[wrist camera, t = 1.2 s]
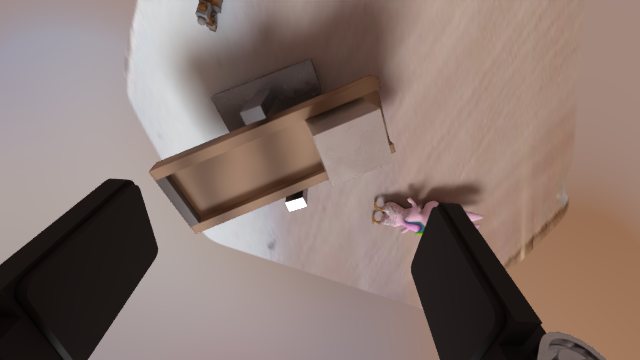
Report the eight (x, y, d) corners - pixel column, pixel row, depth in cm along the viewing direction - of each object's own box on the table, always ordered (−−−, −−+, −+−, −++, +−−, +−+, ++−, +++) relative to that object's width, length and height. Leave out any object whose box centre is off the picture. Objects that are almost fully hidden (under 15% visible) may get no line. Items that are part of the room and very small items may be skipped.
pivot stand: (310, 58, 31) (308, 72, 23) (346, 165, 37) (354, 202, 30) (213, 95, 33) (183, 118, 25) (264, 190, 39) (253, 231, 32)
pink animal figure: (370, 220, 44) (471, 230, 42) (370, 246, 39) (485, 260, 37) (375, 186, 41) (484, 196, 39) (375, 210, 36) (501, 223, 34)
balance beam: (370, 75, 28) (378, 77, 26) (387, 145, 32) (395, 151, 30) (156, 162, 28) (148, 171, 26) (199, 222, 32) (195, 233, 30)
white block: (361, 97, 28) (380, 108, 23) (373, 143, 30) (393, 161, 26) (304, 120, 28) (313, 136, 23) (322, 164, 30) (332, 186, 26)
